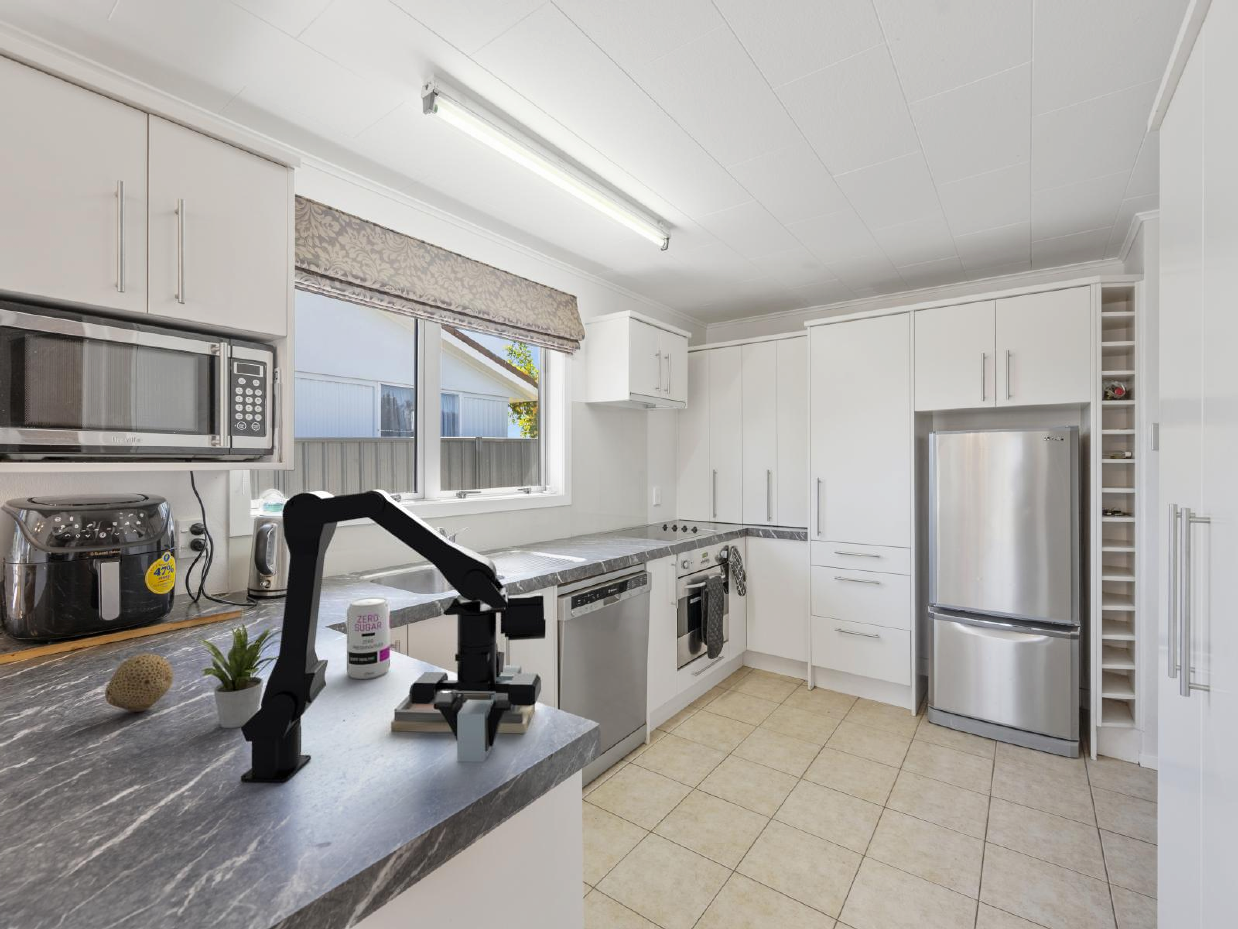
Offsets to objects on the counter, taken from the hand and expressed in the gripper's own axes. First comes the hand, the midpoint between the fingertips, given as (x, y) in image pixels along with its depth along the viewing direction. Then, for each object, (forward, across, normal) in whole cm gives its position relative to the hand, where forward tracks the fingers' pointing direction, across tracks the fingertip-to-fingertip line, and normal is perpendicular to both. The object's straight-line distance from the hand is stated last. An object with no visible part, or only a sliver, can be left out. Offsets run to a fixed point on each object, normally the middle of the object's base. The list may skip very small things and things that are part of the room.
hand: (476, 744), depth 87 cm
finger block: (+1, 0, 0) cm, 1 cm away
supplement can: (+1, +32, -32) cm, 45 cm away
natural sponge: (+1, +63, -12) cm, 64 cm away
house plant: (+1, +42, -9) cm, 43 cm away
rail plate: (+1, +5, -11) cm, 12 cm away
